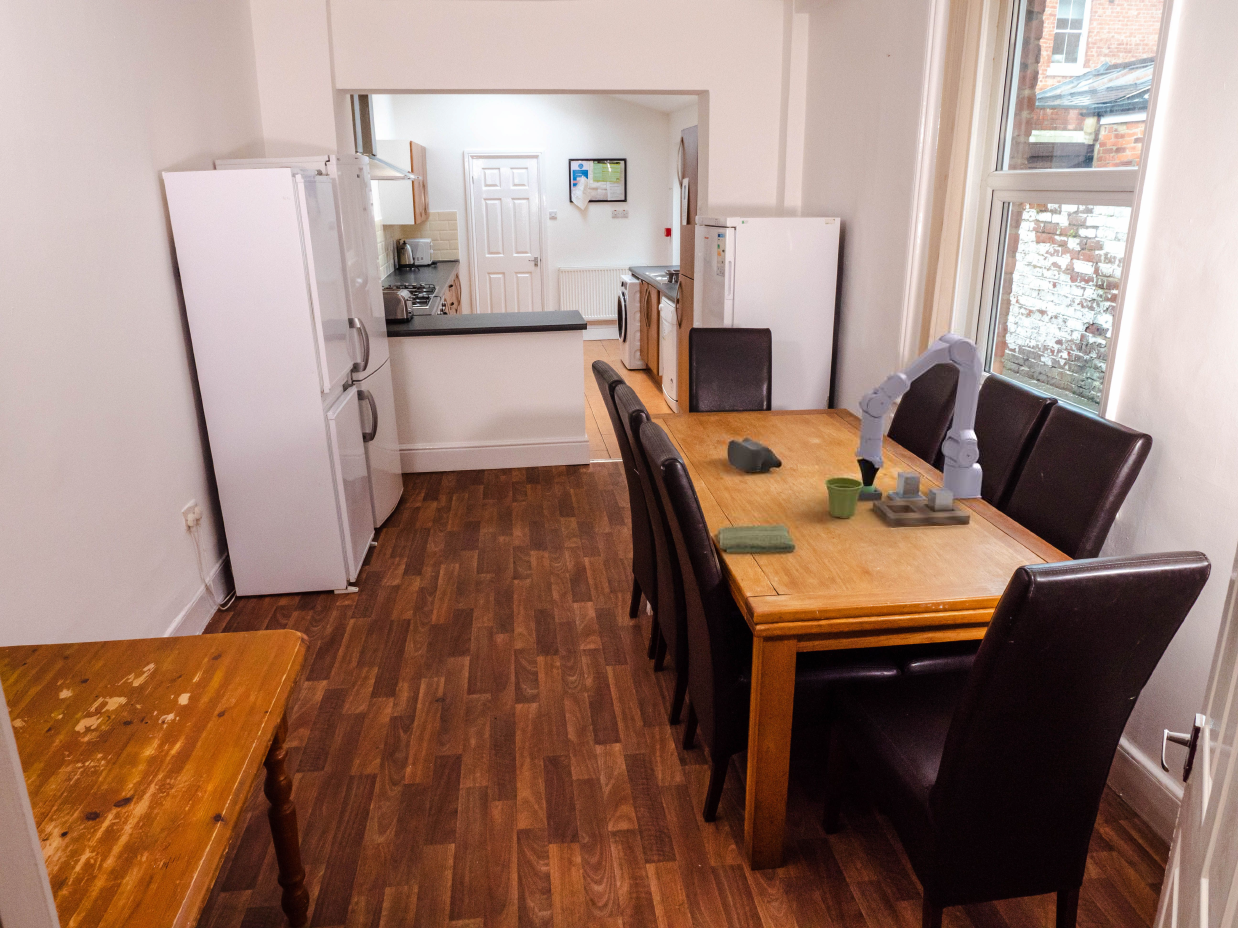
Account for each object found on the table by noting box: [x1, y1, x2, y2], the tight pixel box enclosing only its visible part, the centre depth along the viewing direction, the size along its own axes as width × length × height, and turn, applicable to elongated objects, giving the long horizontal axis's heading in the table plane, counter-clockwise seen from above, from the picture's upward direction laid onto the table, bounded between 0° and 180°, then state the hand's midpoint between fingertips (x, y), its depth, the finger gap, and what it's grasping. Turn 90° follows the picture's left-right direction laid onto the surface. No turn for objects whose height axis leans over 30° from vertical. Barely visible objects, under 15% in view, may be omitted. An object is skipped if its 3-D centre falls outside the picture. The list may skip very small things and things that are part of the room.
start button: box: [861, 484, 876, 492], centre depth 237 cm, size 4×4×3 cm
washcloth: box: [717, 523, 796, 554], centre depth 206 cm, size 13×18×3 cm
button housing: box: [858, 486, 883, 502], centre depth 237 cm, size 6×6×2 cm
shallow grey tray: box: [887, 490, 928, 501], centre depth 235 cm, size 8×7×2 cm
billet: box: [895, 471, 922, 499], centre depth 234 cm, size 4×4×7 cm
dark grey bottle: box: [726, 437, 783, 473], centre depth 265 cm, size 18×11×8 cm, turn 24°
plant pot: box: [824, 477, 863, 519], centre depth 224 cm, size 9×9×9 cm
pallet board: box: [871, 498, 971, 529], centre depth 222 cm, size 20×13×2 cm, turn 95°
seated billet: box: [927, 487, 954, 512], centre depth 222 cm, size 4×4×7 cm
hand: (867, 485), depth 236 cm, fingers closed, pressing on start button
